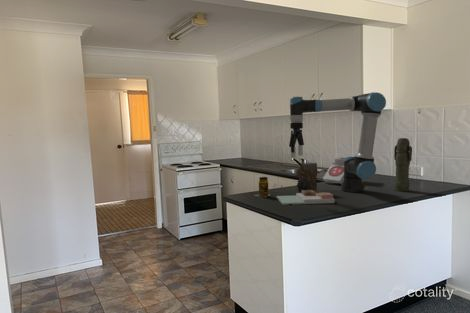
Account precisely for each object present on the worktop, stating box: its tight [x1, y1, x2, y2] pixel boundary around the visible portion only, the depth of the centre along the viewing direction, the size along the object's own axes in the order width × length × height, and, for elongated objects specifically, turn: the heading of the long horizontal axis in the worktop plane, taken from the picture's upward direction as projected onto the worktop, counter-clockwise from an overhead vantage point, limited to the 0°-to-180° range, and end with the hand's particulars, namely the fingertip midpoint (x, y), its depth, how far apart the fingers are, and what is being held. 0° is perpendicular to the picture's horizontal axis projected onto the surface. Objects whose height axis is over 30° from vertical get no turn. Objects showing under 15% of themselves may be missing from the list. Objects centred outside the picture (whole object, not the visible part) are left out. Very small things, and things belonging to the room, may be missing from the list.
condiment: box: [254, 176, 271, 198], centre depth 225 cm, size 7×8×12 cm
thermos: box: [393, 137, 413, 192], centre depth 234 cm, size 9×12×35 cm
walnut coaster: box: [301, 190, 317, 196], centre depth 215 cm, size 7×7×2 cm
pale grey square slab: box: [295, 191, 336, 205], centre depth 211 cm, size 18×18×2 cm
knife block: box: [296, 161, 318, 193], centre depth 231 cm, size 13×13×20 cm
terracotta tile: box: [317, 192, 334, 199], centre depth 206 cm, size 7×7×2 cm
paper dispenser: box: [322, 156, 346, 185], centre depth 268 cm, size 19×30×18 cm, turn 131°
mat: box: [276, 194, 305, 206], centre depth 210 cm, size 12×19×1 cm, turn 4°
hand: (296, 156), depth 217 cm, fingers open, 13 cm apart
